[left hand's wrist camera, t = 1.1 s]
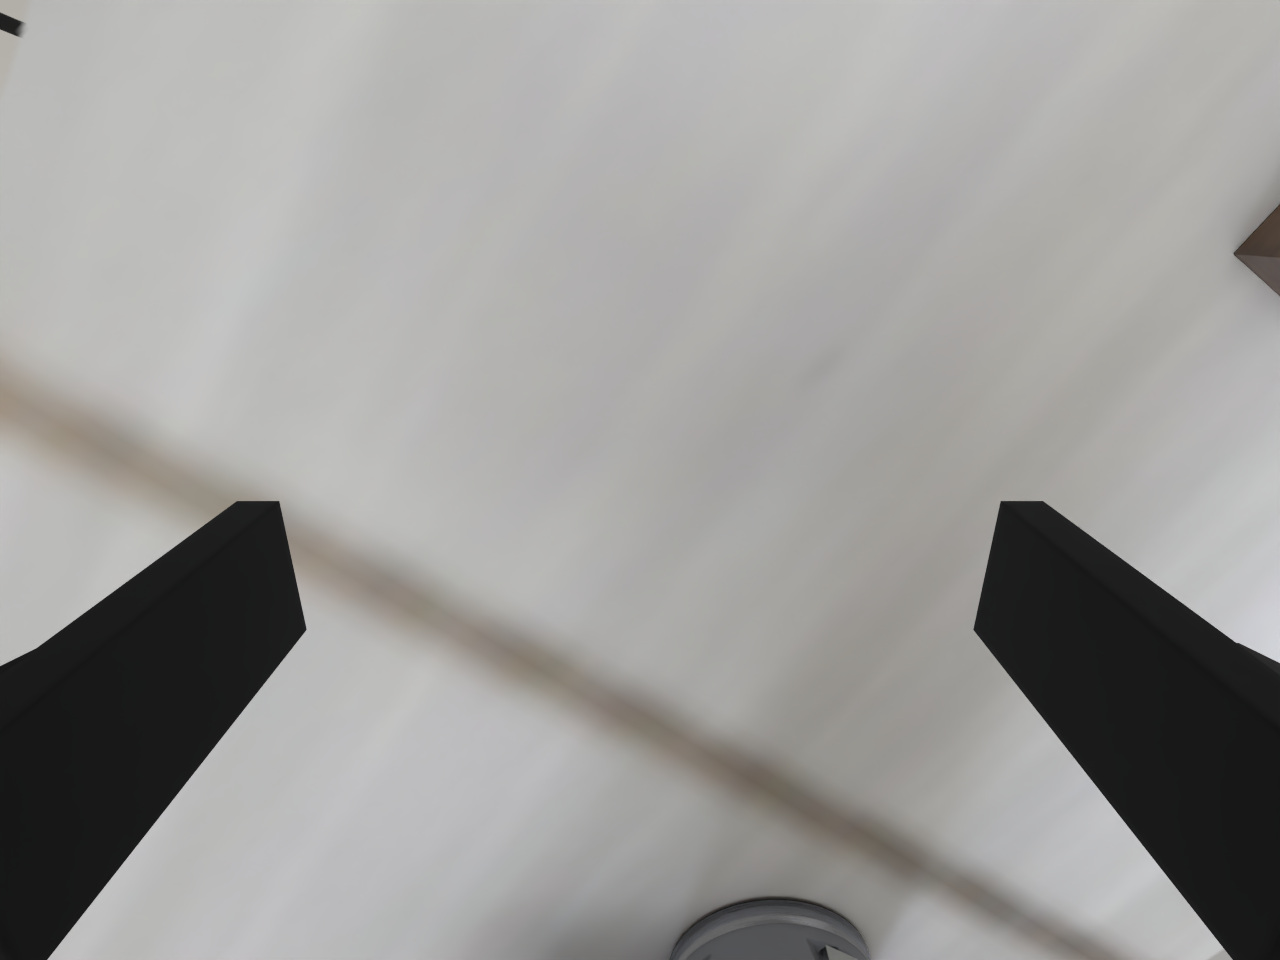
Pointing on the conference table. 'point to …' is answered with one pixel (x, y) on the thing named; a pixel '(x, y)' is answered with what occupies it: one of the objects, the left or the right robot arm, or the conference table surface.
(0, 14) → the right robot arm
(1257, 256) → the bar
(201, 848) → the conference table surface
